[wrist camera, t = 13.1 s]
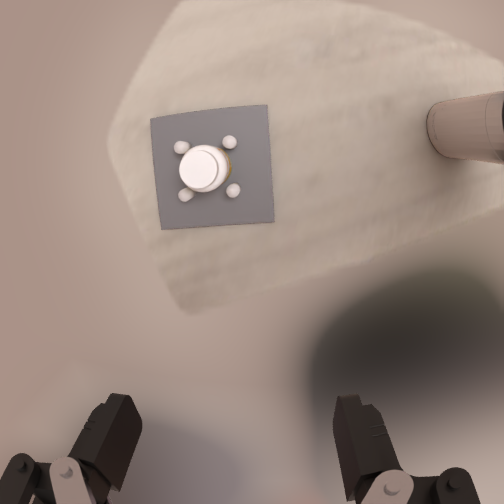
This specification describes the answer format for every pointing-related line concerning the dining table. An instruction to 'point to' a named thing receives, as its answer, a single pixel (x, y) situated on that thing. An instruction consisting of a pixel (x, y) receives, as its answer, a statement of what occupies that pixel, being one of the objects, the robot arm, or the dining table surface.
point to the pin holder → (238, 183)
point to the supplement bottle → (205, 168)
